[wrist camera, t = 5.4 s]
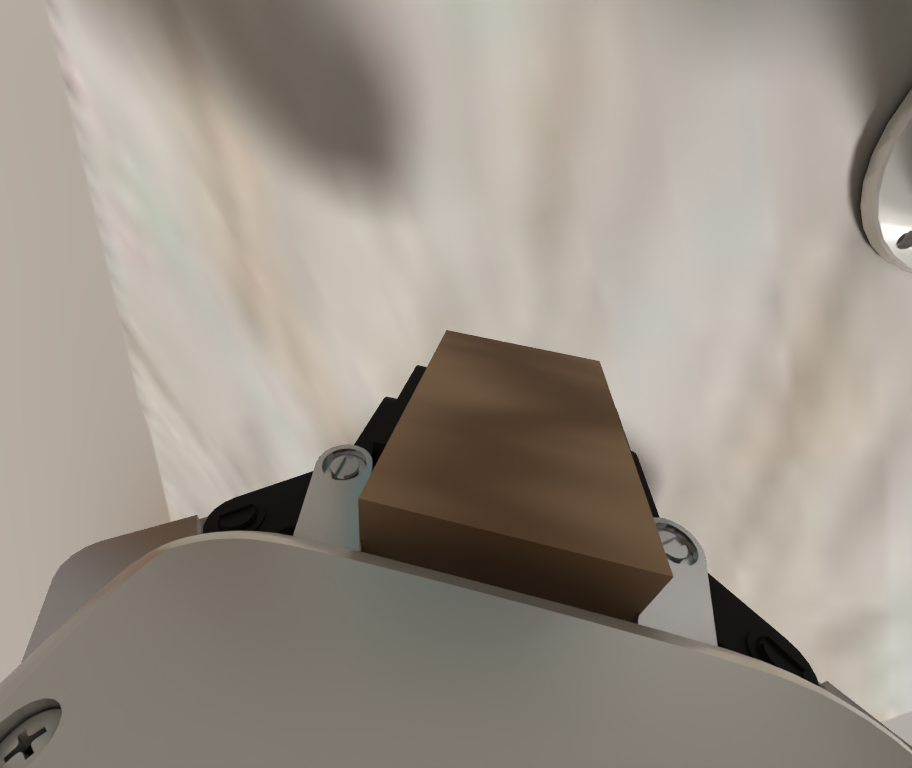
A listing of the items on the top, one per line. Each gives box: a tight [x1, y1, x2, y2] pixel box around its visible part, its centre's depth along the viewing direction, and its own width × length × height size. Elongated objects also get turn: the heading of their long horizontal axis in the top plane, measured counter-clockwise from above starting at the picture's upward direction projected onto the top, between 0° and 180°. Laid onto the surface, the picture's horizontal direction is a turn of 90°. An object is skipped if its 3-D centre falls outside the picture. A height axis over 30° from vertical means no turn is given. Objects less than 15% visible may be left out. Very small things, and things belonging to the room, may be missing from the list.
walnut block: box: [358, 330, 673, 622], centre depth 10 cm, size 5×5×7 cm
